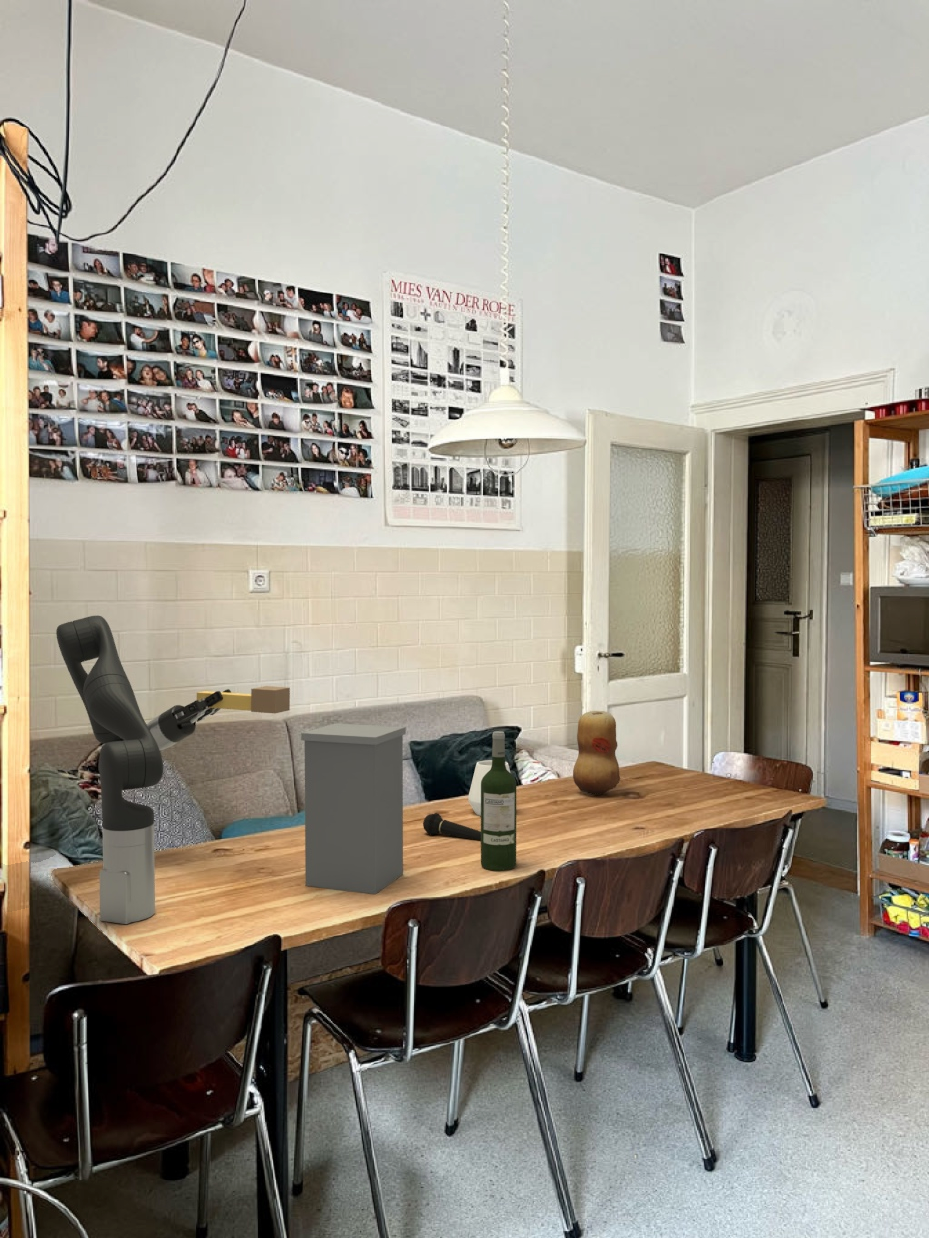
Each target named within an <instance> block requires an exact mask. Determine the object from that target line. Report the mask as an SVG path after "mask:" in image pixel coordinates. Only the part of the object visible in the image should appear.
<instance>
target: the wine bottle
mask: <svg viewBox="0 0 929 1238" xmlns="http://www.w3.org/2000/svg"><path fill="white" fill-rule="evenodd" d="M505 739H506V735H505V732H504V731H503V730H502V731H501V730H499V731H497V730H495V731H493V732H492V749H491V750H492V754H491V760H492V767H491V770H490V771H488V772H487V773H486V774H485V776H484V777H483V778H482V780H481V816H480V831H481V840H480V865H481V867H482V869H485V870H488V871H493V872H505V871H506V872H507V871H510V870H513V869H515V868H516V865H517V781H516V779H515V776H514V775H513V774H512V773H511V771H510V772H509V771H508V770H507V769H506V766H505V762H506V749H505V748H506V745H505V743H506V742H505Z"/></svg>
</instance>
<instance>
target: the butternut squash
mask: <svg viewBox="0 0 929 1238" xmlns="http://www.w3.org/2000/svg"><path fill="white" fill-rule="evenodd" d="M576 741H577V747H578V755H577V759H576V761H575V763H574V766H573V768H572V769H573V770H572V779H573V782H574V784H575V786H576V787H578V790H580V791H581V792H584V793H585V792H586V793H587V794H590V795H595V796H597V795H598V796H599V795H600V796H603V795H604V794H606V793H608V792H609V791H612V790H613V789H615V788H616V787H617V786H618V784H619V782H620V781H621V777H620V765H619V762H618V760H617V756H616V750H617V748H618V741H617V722H616V719H615V717H614V716H613V715H612V714H611V713H609V712H608V711H605V710H591V711H588V712H584V713H583V714H582V715H581V716H580V717H579V719H578V723H577V733H576Z"/></svg>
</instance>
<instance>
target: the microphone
mask: <svg viewBox="0 0 929 1238" xmlns="http://www.w3.org/2000/svg"><path fill="white" fill-rule="evenodd" d="M422 827H423V830H424V831H425V832H426V833H427V834H428V835H430V836H435V835H438V834H440V833H441V835H445V836H449V837H451V838H452V837H453V838H461V839H468V840H472V839H473V840H474V841H480V842H481V830H477V829H475V828H471V827H468V826H465V825H463V824H459V823H456V822H453V821H450V820H447V819H443V818H442V816H441V815H440V813H438V812H434V813H430V814H427V815H426V816H425V817H424V819H423V822H422Z"/></svg>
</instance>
